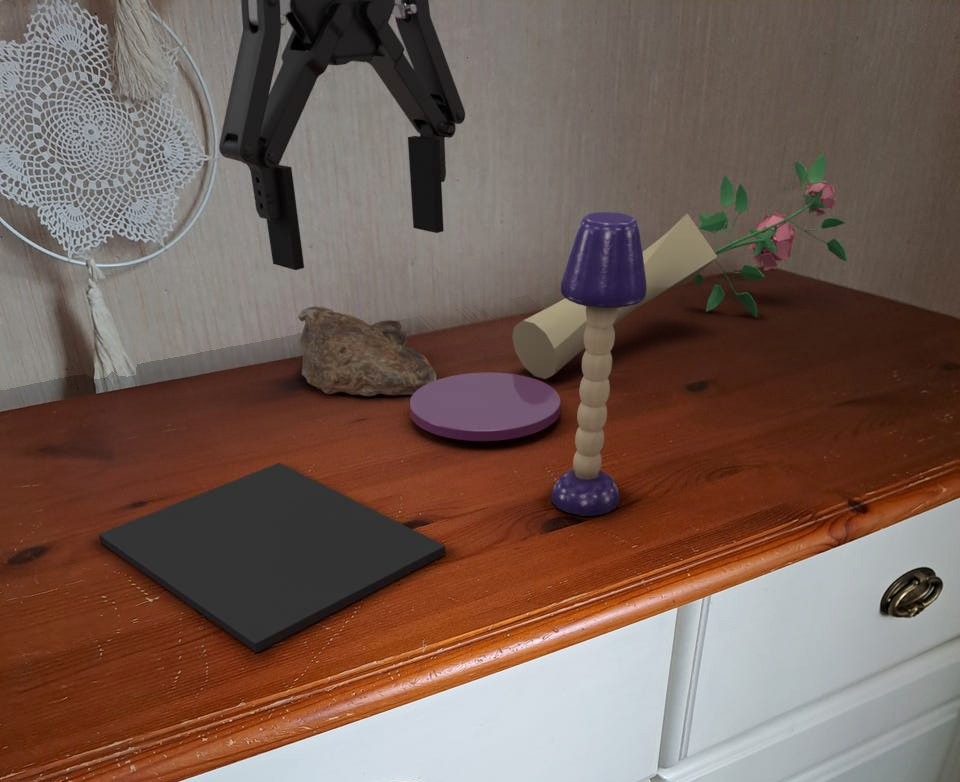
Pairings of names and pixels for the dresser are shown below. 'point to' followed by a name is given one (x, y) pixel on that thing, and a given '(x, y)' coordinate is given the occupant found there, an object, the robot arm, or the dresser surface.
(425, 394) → the saucer
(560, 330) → the flower vase
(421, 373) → the brown rock
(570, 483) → the toy lamp
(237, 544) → the place mat
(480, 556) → the dresser surface
